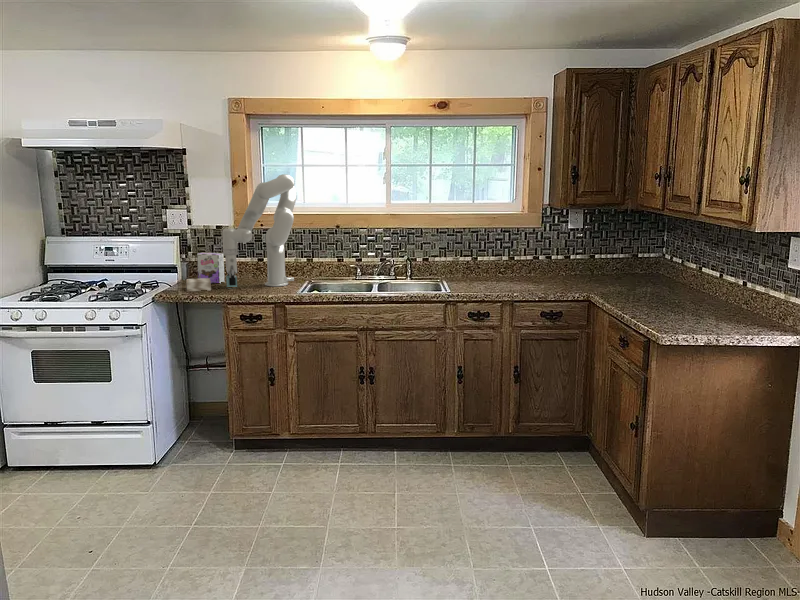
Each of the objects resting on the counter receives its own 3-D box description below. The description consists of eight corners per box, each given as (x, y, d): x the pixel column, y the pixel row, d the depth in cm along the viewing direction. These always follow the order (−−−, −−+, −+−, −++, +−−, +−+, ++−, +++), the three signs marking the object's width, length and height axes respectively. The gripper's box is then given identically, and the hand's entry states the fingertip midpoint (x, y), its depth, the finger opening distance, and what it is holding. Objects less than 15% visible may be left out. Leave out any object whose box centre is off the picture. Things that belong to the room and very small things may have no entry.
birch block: (210, 287, 352) (209, 278, 351) (211, 290, 340) (210, 281, 339) (187, 288, 348) (186, 279, 347) (186, 292, 337) (186, 282, 336)
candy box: (197, 282, 365) (196, 253, 362) (203, 281, 370) (202, 252, 367) (219, 283, 361) (218, 254, 358) (225, 282, 366) (223, 253, 363)
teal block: (236, 286, 353) (235, 275, 352) (237, 287, 349) (236, 276, 347) (226, 286, 351) (226, 275, 350) (227, 288, 347) (227, 277, 346)
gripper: (239, 253, 340) (240, 285, 343) (235, 250, 356) (236, 281, 359) (224, 254, 337) (226, 286, 340) (221, 250, 353) (222, 281, 356)
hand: (231, 283), depth 350 cm, fingers open, 9 cm apart
